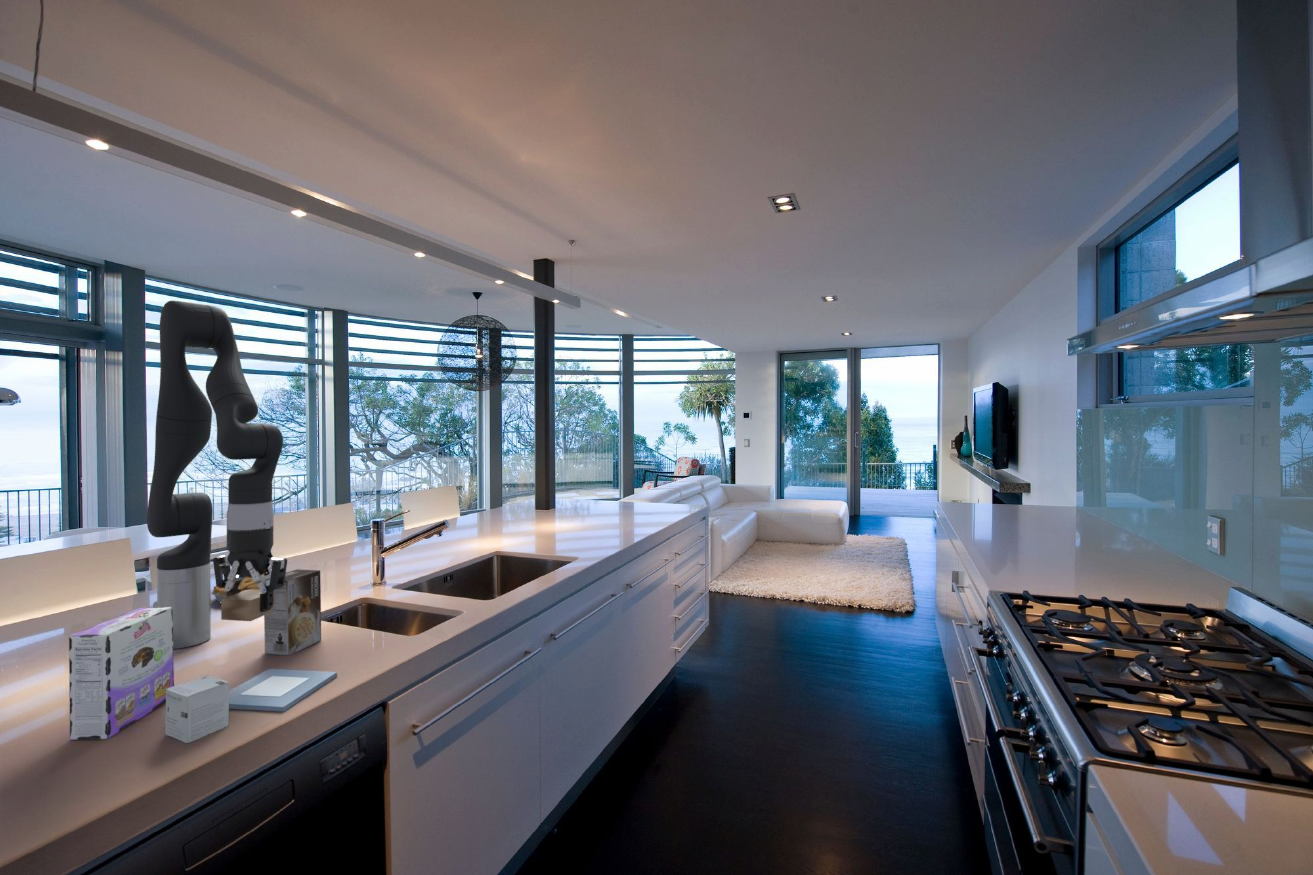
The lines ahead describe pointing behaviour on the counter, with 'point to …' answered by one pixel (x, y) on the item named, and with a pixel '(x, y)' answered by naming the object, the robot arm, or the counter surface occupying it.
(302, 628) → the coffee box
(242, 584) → the pie
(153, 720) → the counter surface
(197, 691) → the skincare box
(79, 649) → the candy box
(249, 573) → the robot arm
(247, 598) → the walnut block
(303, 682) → the board
